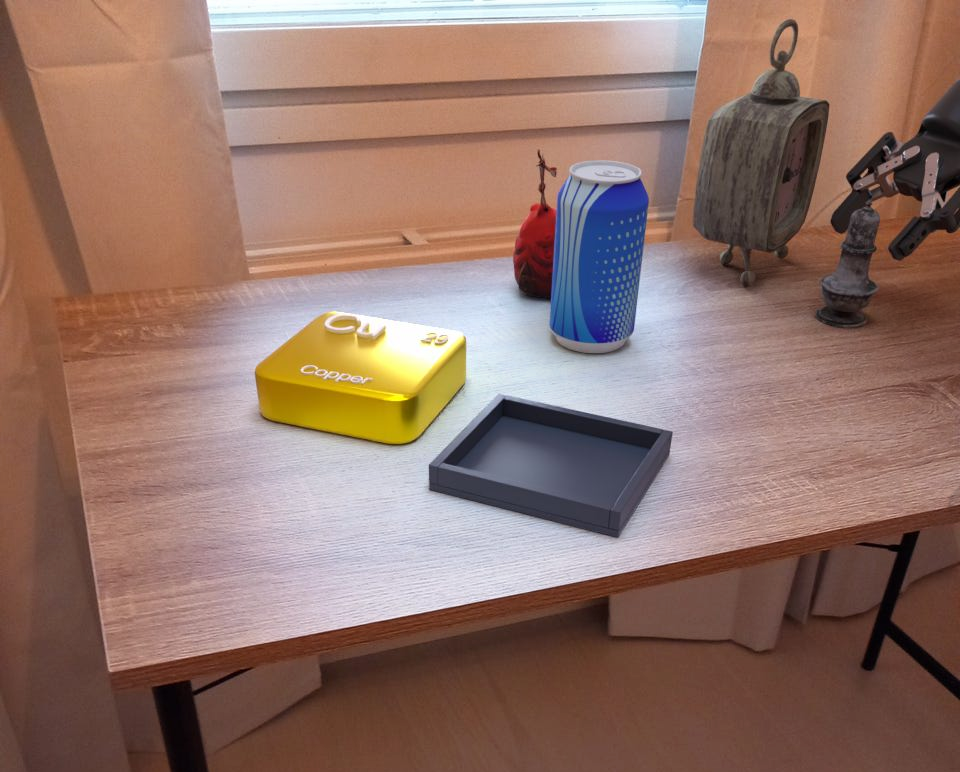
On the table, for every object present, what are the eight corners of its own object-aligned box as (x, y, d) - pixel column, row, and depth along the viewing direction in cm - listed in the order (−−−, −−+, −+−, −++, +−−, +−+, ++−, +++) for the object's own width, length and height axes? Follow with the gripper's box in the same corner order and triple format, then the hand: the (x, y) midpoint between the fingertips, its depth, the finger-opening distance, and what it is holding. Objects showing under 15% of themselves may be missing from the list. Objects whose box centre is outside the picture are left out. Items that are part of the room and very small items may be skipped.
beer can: (591, 364, 98) (607, 189, 88) (531, 336, 103) (539, 167, 93) (649, 341, 102) (671, 172, 92) (589, 315, 107) (603, 152, 97)
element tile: (251, 418, 89) (243, 366, 86) (329, 351, 99) (325, 303, 96) (410, 450, 85) (408, 397, 82) (473, 376, 96) (473, 326, 93)
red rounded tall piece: (590, 290, 113) (603, 144, 103) (551, 308, 108) (561, 158, 99) (536, 273, 116) (543, 130, 107) (497, 290, 112) (500, 143, 103)
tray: (669, 454, 85) (673, 431, 83) (617, 537, 75) (620, 512, 74) (497, 416, 90) (498, 393, 88) (428, 489, 80) (428, 464, 79)
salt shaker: (800, 311, 109) (826, 193, 101) (845, 303, 111) (874, 187, 103) (836, 332, 105) (866, 211, 97) (881, 324, 107) (914, 204, 99)
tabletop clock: (754, 295, 112) (804, 34, 96) (679, 277, 116) (714, 24, 100) (799, 257, 122) (851, 14, 106) (728, 242, 125) (768, 5, 109)
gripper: (919, 63, 102) (802, 197, 105) (1033, 94, 92) (901, 240, 95) (942, 117, 107) (830, 242, 110) (1053, 151, 97) (927, 287, 101)
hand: (863, 241), depth 103 cm, fingers open, 8 cm apart
